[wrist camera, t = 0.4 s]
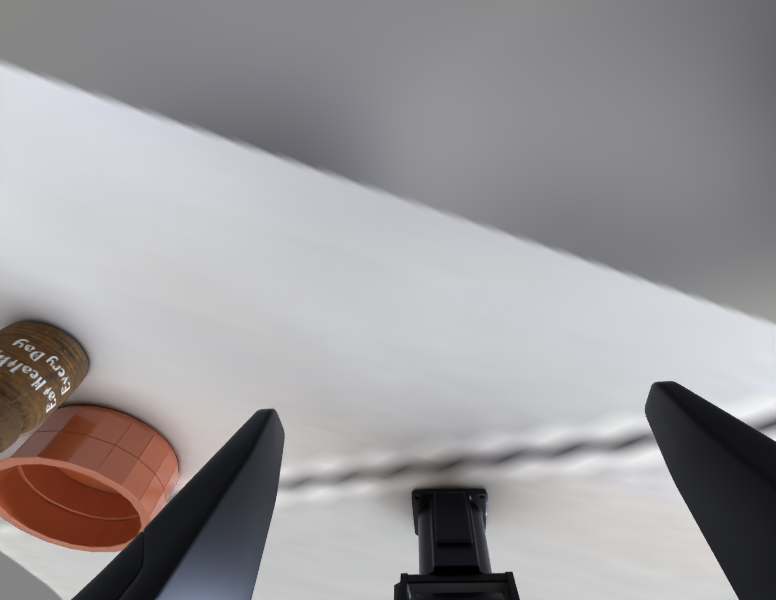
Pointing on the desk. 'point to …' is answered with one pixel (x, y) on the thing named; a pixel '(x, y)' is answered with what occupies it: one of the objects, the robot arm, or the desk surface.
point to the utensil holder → (35, 376)
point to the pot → (86, 479)
